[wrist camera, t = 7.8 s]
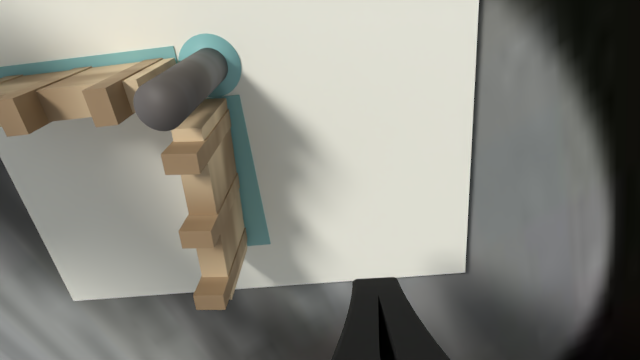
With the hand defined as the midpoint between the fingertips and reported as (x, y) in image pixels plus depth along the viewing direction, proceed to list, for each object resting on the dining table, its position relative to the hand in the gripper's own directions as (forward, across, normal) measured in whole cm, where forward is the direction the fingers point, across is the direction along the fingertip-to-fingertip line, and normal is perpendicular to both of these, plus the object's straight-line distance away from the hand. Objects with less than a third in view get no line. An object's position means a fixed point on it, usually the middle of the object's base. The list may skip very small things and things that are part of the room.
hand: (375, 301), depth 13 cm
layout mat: (+6, +6, -5) cm, 10 cm away
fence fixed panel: (+6, +9, -7) cm, 13 cm away
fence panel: (+6, +6, -2) cm, 8 cm away
